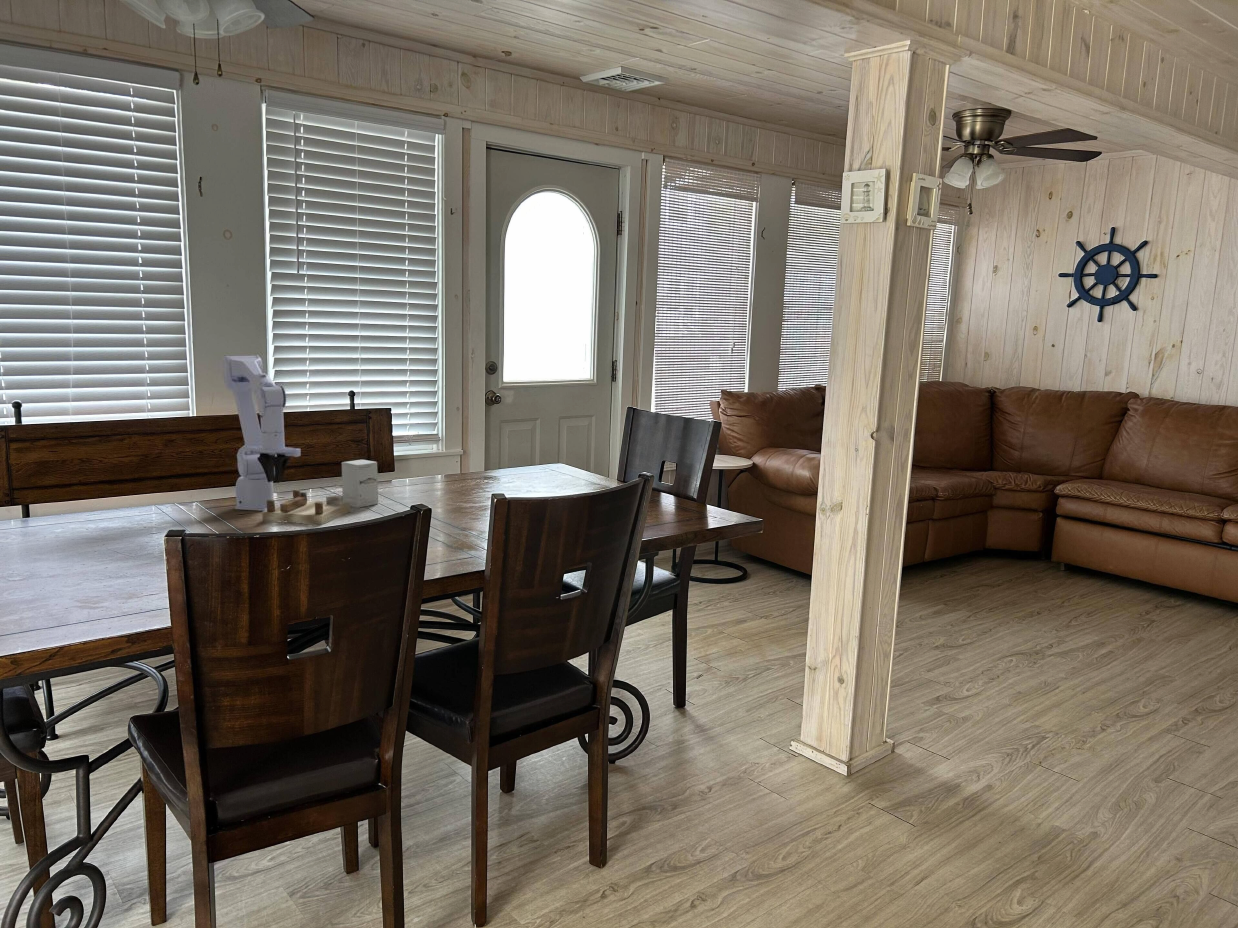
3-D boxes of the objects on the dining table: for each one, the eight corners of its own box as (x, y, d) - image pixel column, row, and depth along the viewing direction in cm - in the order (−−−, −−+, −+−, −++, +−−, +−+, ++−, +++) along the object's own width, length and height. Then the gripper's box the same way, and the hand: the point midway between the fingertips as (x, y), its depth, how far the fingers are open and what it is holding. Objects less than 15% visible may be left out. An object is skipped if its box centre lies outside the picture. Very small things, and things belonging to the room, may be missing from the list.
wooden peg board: (262, 521, 242) (261, 500, 241) (293, 508, 257) (292, 489, 256) (322, 524, 239) (321, 504, 238) (349, 511, 254) (349, 492, 253)
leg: (302, 502, 252) (301, 491, 251) (308, 502, 252) (308, 492, 251) (280, 511, 241) (279, 500, 240) (287, 511, 241) (286, 500, 240)
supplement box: (358, 508, 258) (356, 464, 256) (342, 504, 263) (340, 461, 260) (379, 504, 264) (378, 461, 262) (363, 500, 268) (361, 458, 266)
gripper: (239, 432, 239) (241, 483, 241) (290, 434, 237) (292, 485, 239) (254, 429, 246) (256, 478, 248) (303, 431, 243) (305, 480, 246)
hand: (275, 481), depth 244 cm, fingers closed
